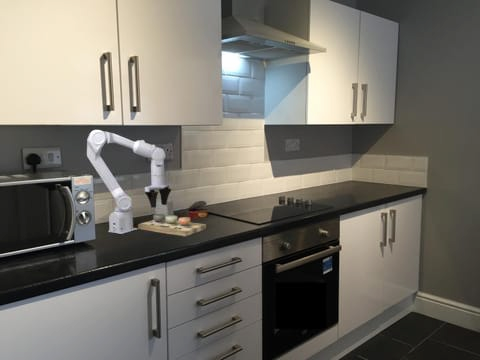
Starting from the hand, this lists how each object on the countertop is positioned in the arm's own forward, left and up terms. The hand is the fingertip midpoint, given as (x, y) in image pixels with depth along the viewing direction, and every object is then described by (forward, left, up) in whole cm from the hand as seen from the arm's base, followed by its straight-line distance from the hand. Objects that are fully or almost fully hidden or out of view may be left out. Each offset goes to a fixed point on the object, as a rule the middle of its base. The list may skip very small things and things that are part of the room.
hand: (158, 206), depth 185 cm
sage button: (0, -7, -6) cm, 9 cm away
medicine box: (+16, +11, -10) cm, 22 cm away
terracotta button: (0, -14, -6) cm, 15 cm away
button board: (0, -7, -9) cm, 12 cm away
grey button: (0, 0, -6) cm, 6 cm away
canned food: (+27, -1, -10) cm, 29 cm away
